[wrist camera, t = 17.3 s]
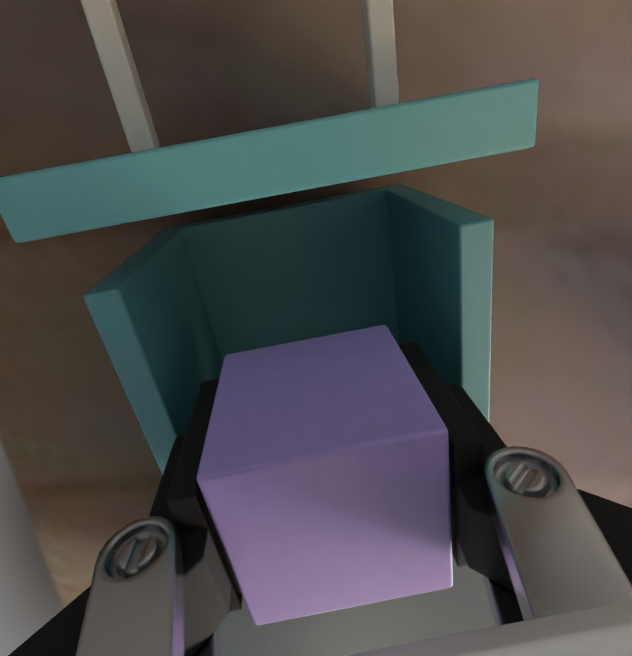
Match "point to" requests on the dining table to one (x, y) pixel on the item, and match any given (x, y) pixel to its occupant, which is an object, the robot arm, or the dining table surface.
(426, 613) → the grey drawer cabinet
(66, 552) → the dining table surface
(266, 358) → the lavender rounded cube
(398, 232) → the teal drawer
